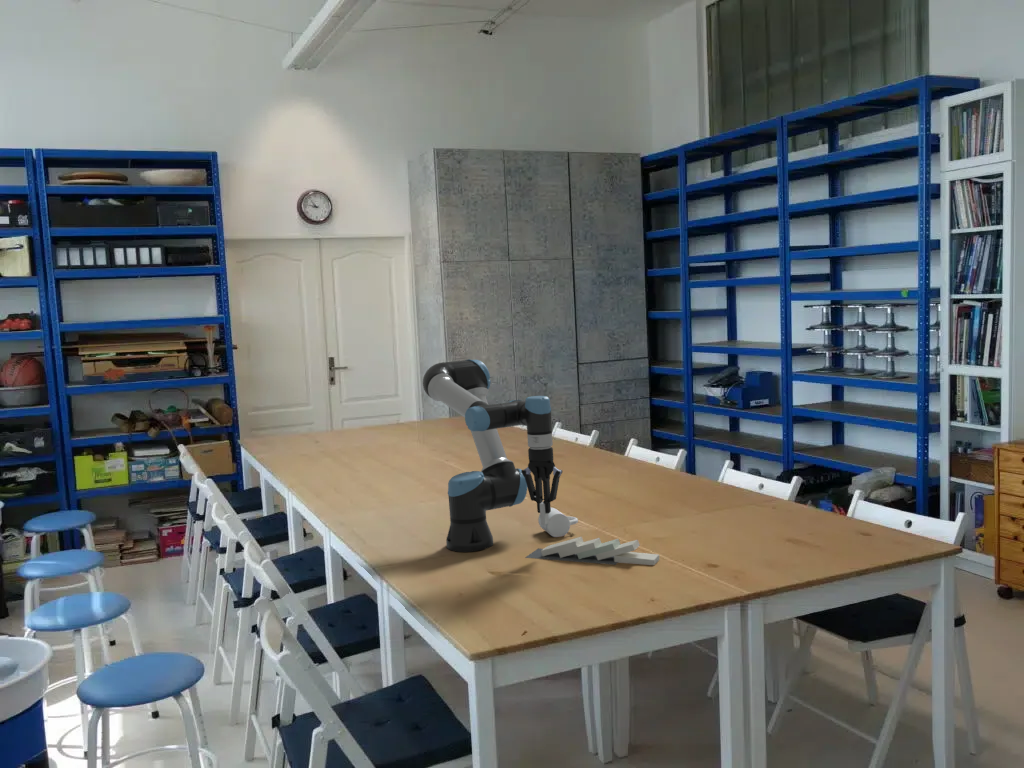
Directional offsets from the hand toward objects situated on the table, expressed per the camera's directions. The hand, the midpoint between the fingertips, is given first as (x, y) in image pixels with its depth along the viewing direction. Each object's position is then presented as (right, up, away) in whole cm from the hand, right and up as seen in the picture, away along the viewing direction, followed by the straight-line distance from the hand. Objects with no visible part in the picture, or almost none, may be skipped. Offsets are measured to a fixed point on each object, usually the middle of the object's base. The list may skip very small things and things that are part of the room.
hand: (544, 523), depth 279 cm
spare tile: (+11, -9, -4) cm, 14 cm away
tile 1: (0, -9, +1) cm, 9 cm away
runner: (+9, -10, -3) cm, 14 cm away
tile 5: (+21, -8, -9) cm, 24 cm away
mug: (+6, -7, +25) cm, 27 cm away
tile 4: (+16, -8, -7) cm, 19 cm away
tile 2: (+5, -9, -1) cm, 10 cm away
